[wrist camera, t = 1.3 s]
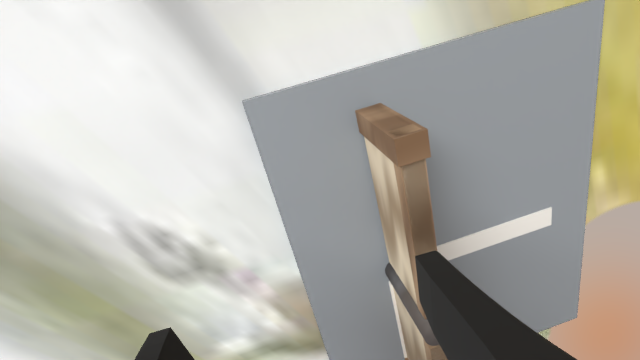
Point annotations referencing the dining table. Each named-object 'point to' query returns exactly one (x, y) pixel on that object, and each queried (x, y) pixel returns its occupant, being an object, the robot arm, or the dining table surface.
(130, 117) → the dining table surface
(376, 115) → the post
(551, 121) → the card
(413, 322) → the fixed fence section
